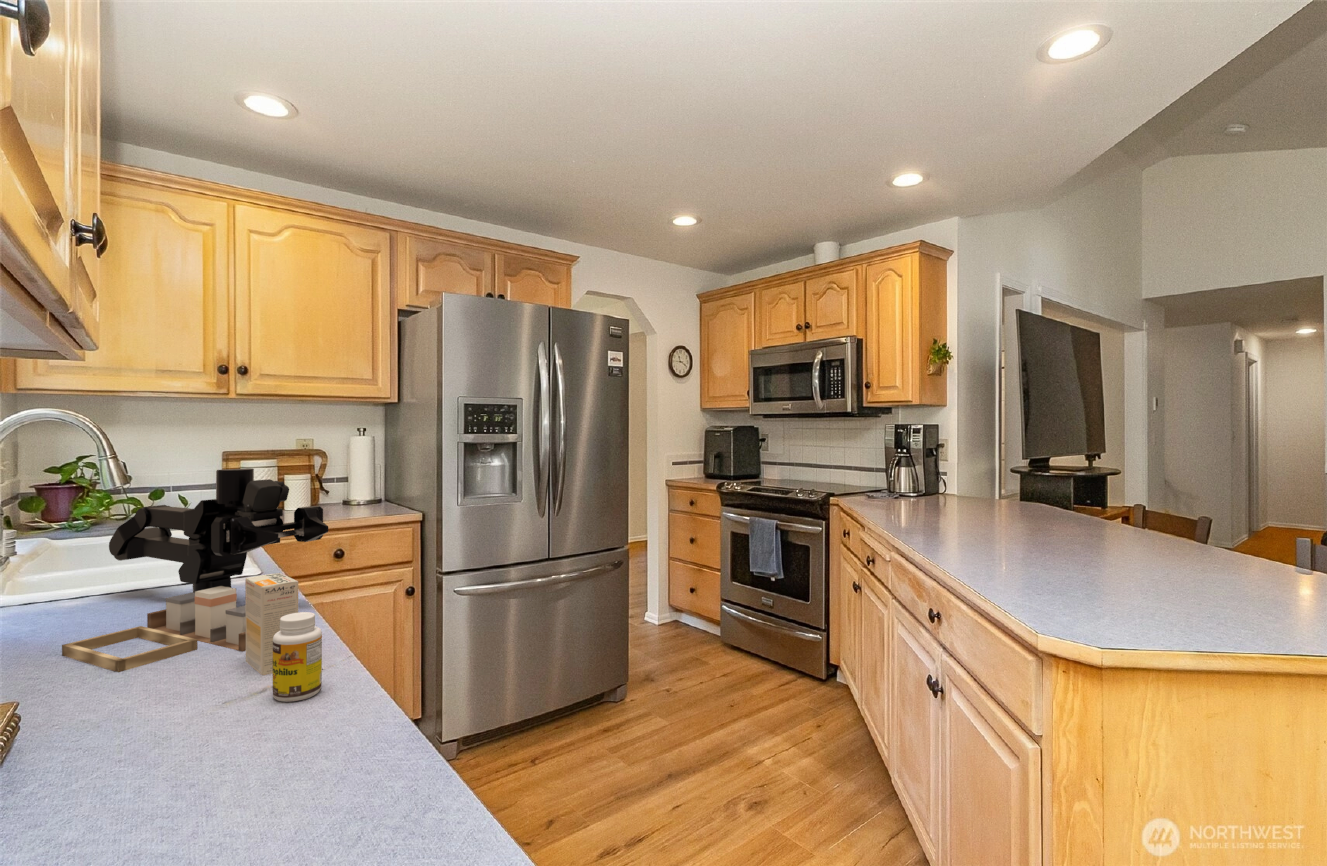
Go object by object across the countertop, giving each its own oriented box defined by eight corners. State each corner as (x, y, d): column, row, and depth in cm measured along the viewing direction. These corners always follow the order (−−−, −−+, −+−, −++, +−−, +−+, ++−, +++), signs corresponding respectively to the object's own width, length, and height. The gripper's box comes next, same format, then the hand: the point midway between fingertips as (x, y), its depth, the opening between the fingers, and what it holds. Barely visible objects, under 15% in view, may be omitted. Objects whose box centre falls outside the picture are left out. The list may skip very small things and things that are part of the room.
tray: (62, 661, 94) (61, 644, 94) (140, 641, 103) (140, 625, 103) (118, 679, 88) (118, 661, 88) (197, 655, 97) (197, 639, 97)
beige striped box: (194, 634, 104) (194, 591, 104) (221, 627, 108) (221, 585, 108) (210, 638, 102) (210, 594, 102) (236, 630, 106) (236, 588, 106)
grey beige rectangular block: (165, 627, 107) (165, 598, 107) (192, 621, 111) (192, 592, 111) (180, 631, 105) (180, 600, 105) (206, 624, 109) (206, 595, 109)
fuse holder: (147, 634, 107) (147, 613, 107) (192, 622, 113) (192, 603, 113) (242, 657, 96) (242, 634, 96) (287, 643, 103) (287, 621, 103)
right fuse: (225, 641, 100) (225, 609, 100) (251, 634, 104) (251, 603, 104) (242, 645, 99) (242, 613, 99) (268, 637, 103) (268, 606, 102)
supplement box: (300, 673, 91) (300, 580, 91) (261, 683, 87) (261, 586, 87) (281, 658, 96) (281, 571, 96) (244, 667, 93) (244, 576, 93)
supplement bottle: (261, 700, 82) (261, 620, 82) (298, 683, 87) (298, 608, 87) (296, 706, 80) (296, 624, 80) (331, 688, 85) (331, 612, 85)
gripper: (189, 485, 108) (248, 490, 101) (294, 477, 125) (350, 481, 118) (188, 552, 108) (248, 561, 101) (293, 535, 125) (350, 542, 118)
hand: (303, 532), depth 110 cm, fingers open, 9 cm apart
